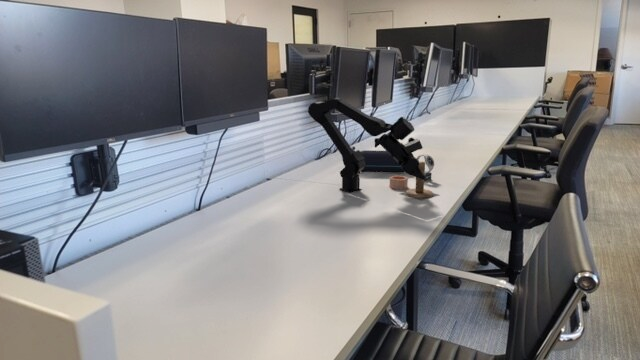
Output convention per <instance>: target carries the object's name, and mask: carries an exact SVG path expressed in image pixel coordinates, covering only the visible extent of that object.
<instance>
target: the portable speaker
mask: <svg viewBox="0 0 640 360" xmlns="http://www.w3.org/2000/svg"><path fill="white" fill-rule="evenodd" d="M359 151H360V152H361V155H362V156H363V157H364V158H365V159H364V160H365V167H364V168H363V169H362V170H361V172H360V173H386V174H387V173H388V174H389V173H391V174H393V173H394V174H395V173H396V174H399V173H400V174H401V173H402V174H404V173H405V172H404V171H403V170H402V165H399V164H398V162H397V161H396V160H395V159H394V158H392V157H391V155H390V154H389V153H388V152H387V151H386V150H359Z"/></svg>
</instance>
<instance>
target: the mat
mask: <svg viewBox="0 0 640 360" xmlns="http://www.w3.org/2000/svg"><path fill="white" fill-rule="evenodd" d="M398 194H399V195H401V196H405V197H407V198H412V199H415V200H418V201H421V202H422V201H425V200H428V199H432V198H436V197H438V196H440V194H438V193H434V192H433V196H432V197H429V198H413V197H410V196H407V195H406V191H404V192H400V193H398Z"/></svg>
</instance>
